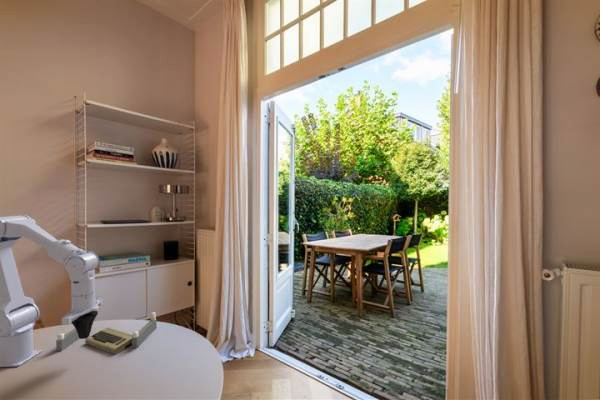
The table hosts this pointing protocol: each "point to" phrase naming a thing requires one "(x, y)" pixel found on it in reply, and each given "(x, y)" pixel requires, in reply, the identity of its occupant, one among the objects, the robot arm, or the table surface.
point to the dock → (73, 335)
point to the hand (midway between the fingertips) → (84, 337)
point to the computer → (110, 340)
